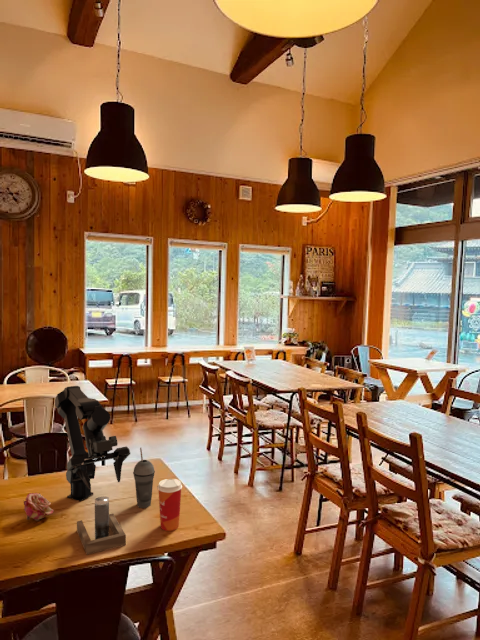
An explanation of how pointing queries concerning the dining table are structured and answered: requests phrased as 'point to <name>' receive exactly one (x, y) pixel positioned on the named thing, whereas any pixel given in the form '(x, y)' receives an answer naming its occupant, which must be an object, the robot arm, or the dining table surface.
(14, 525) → the dining table surface
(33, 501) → the flower
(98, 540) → the frame
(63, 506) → the dining table surface
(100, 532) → the pepper mill
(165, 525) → the paper cup
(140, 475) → the beverage cup
